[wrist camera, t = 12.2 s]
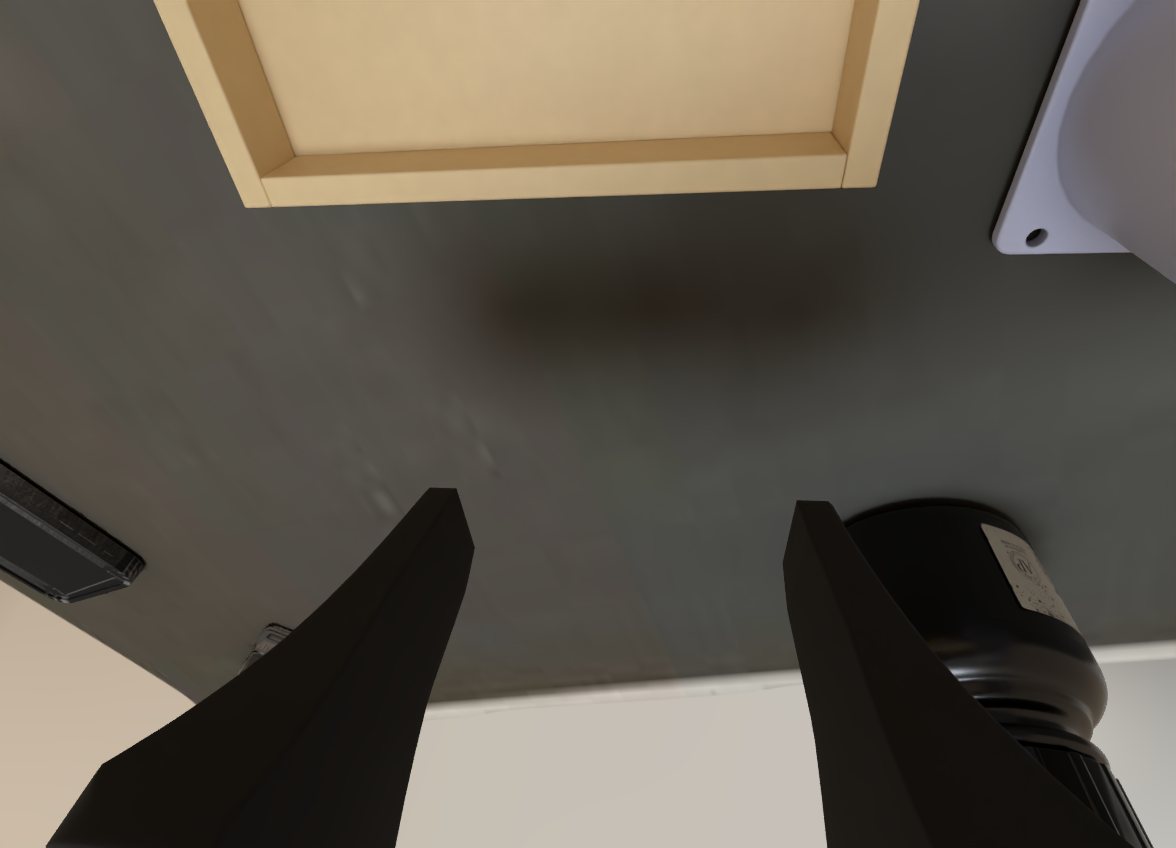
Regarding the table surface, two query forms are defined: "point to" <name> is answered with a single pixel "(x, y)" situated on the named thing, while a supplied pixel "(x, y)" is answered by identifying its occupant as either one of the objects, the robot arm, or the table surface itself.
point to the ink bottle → (1002, 639)
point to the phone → (57, 546)
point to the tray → (541, 95)
